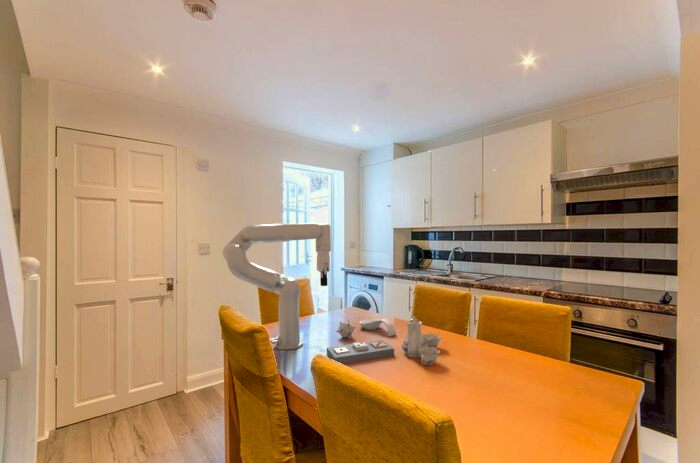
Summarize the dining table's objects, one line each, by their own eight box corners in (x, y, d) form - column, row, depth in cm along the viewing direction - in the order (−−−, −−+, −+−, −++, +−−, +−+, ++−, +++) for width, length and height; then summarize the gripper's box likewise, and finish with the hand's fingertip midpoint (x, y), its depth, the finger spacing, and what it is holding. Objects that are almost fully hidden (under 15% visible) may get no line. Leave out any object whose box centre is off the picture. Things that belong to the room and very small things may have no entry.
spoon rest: (355, 328, 177) (354, 315, 177) (371, 324, 184) (371, 311, 184) (384, 338, 158) (384, 324, 158) (401, 334, 165) (401, 320, 165)
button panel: (335, 365, 127) (335, 357, 127) (326, 354, 138) (326, 347, 138) (394, 355, 136) (394, 348, 136) (381, 346, 147) (381, 339, 147)
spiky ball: (349, 346, 159) (355, 333, 154) (333, 340, 159) (338, 327, 154) (352, 332, 166) (358, 319, 161) (337, 326, 167) (342, 313, 161)
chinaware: (443, 374, 121) (447, 330, 121) (399, 366, 125) (402, 323, 124) (439, 347, 149) (442, 312, 148) (402, 342, 152) (405, 307, 152)
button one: (337, 358, 131) (337, 352, 131) (333, 354, 135) (333, 348, 135) (349, 356, 132) (348, 350, 132) (345, 352, 137) (344, 346, 137)
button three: (375, 352, 137) (375, 346, 137) (370, 348, 141) (370, 342, 141) (386, 350, 138) (386, 344, 138) (381, 347, 143) (381, 341, 143)
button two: (356, 352, 134) (356, 346, 134) (352, 348, 138) (352, 342, 138) (368, 351, 135) (367, 345, 135) (363, 347, 140) (363, 341, 140)
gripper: (313, 248, 166) (314, 283, 166) (318, 249, 151) (319, 288, 151) (327, 247, 168) (328, 283, 168) (334, 249, 153) (334, 287, 153)
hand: (324, 285), depth 159 cm, fingers closed
